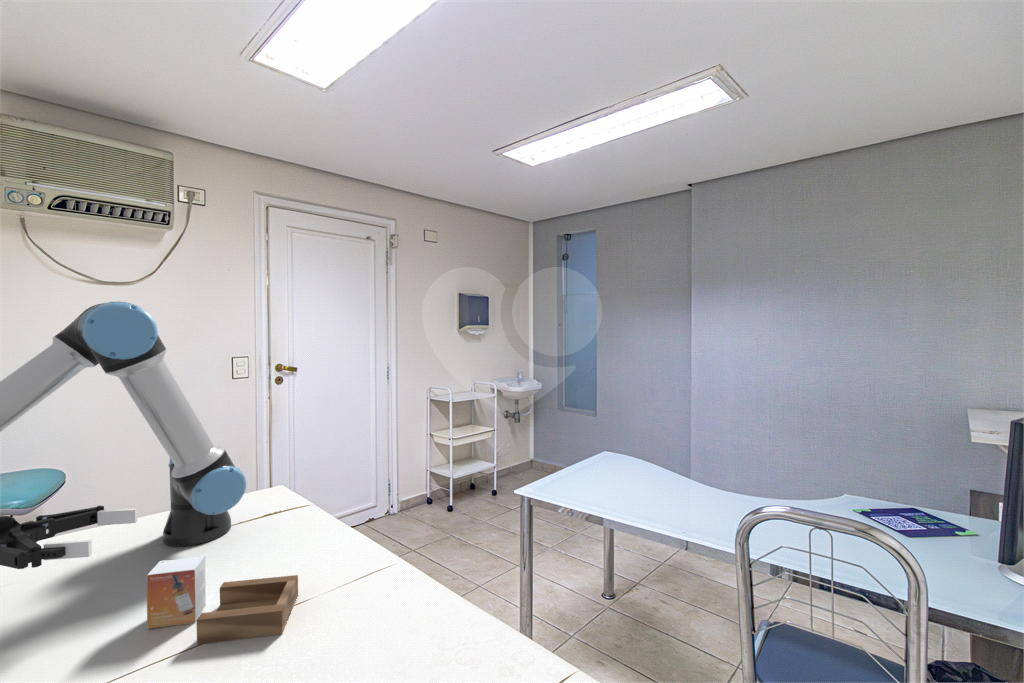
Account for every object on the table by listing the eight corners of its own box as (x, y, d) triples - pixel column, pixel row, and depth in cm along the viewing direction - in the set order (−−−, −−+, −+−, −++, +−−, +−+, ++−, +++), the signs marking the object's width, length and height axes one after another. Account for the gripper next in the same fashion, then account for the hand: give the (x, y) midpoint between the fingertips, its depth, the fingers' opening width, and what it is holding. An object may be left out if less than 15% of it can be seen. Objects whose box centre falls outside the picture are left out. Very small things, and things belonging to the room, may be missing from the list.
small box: (146, 630, 86) (144, 575, 85) (160, 612, 91) (159, 560, 91) (196, 623, 88) (194, 569, 88) (206, 605, 93) (205, 554, 93)
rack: (224, 603, 94) (223, 582, 94) (298, 595, 97) (297, 575, 97) (197, 644, 82) (196, 620, 82) (282, 634, 85) (281, 610, 85)
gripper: (33, 529, 95) (152, 522, 99) (-99, 602, 70) (66, 587, 75) (32, 493, 94) (151, 487, 99) (-101, 553, 70) (65, 542, 74)
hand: (115, 530), depth 87 cm, fingers open, 13 cm apart
